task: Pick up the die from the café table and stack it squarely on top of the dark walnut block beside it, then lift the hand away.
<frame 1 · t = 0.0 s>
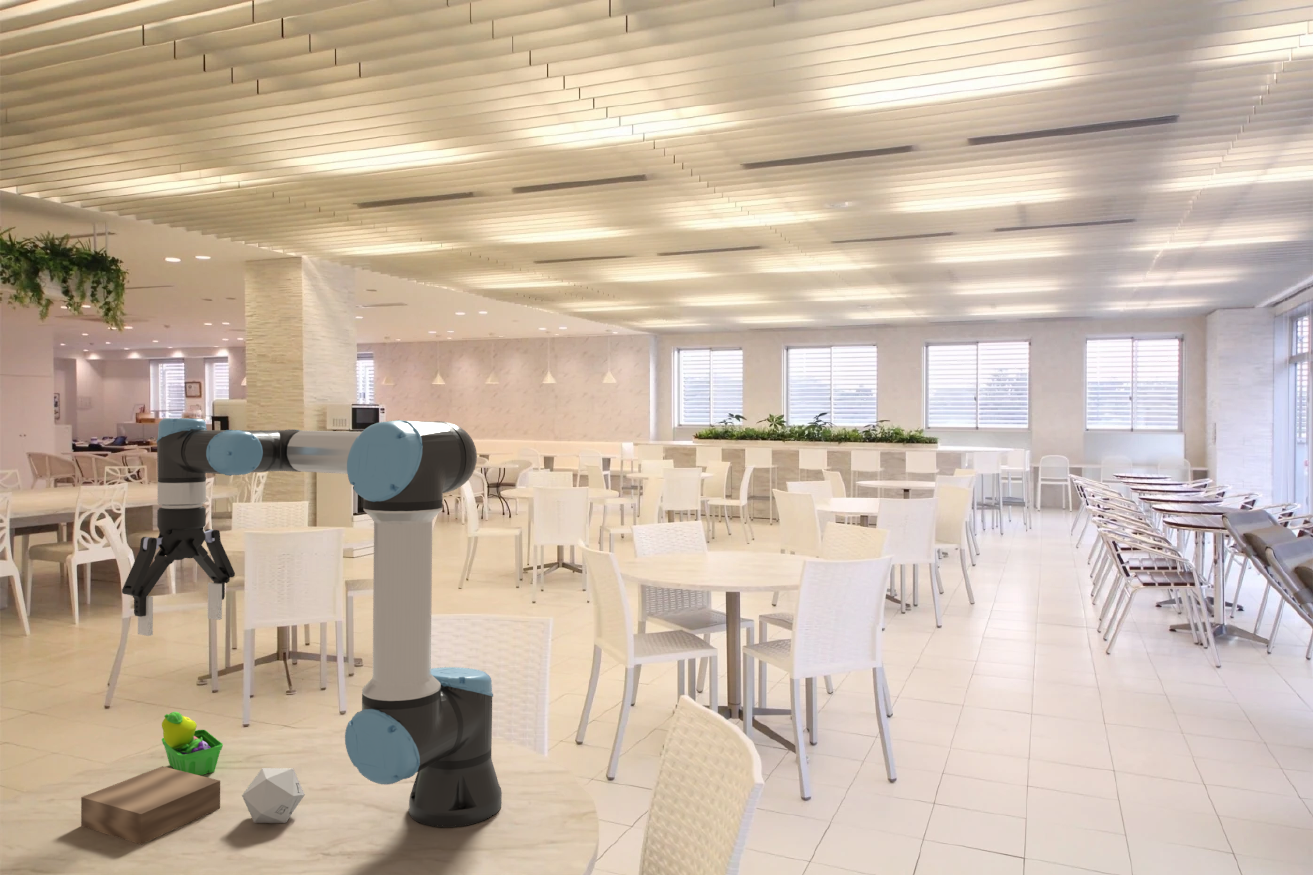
hand: (181, 626, 156), 28 cm above the table, tool pointing down, fingers open, 13 cm apart
walnut block: (152, 819, 143), on the table
fruit basket: (188, 770, 163), on the table
die: (273, 819, 143), on the table
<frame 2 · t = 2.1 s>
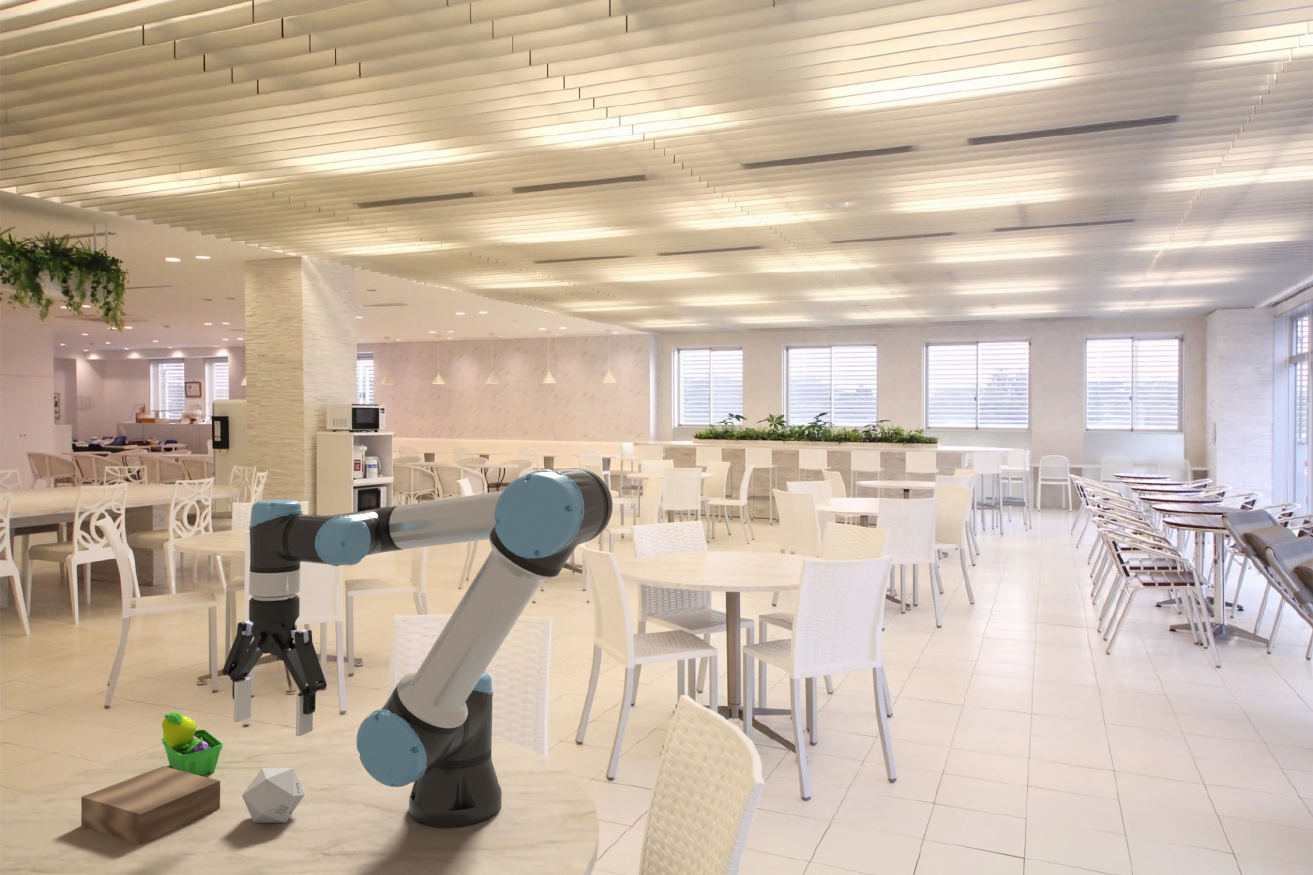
hand: (272, 726, 143), 15 cm above the table, tool pointing down, fingers open, 13 cm apart
nothing on the table moved.
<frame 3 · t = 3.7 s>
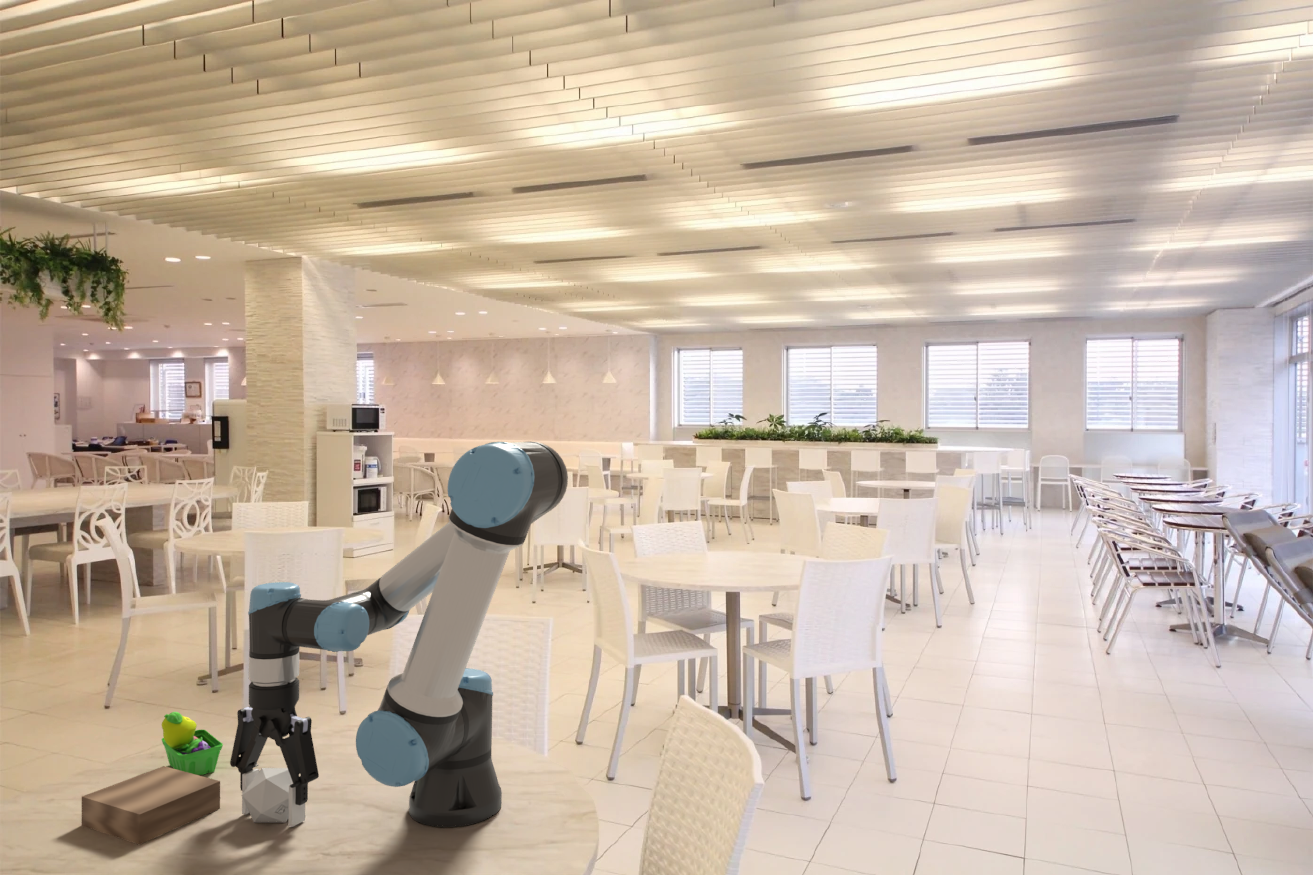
hand: (273, 816, 143), 0 cm above the table, tool pointing down, fingers closed on die, 9 cm apart
die: (273, 819, 143), on the table, touching gripper
everything else where it was.
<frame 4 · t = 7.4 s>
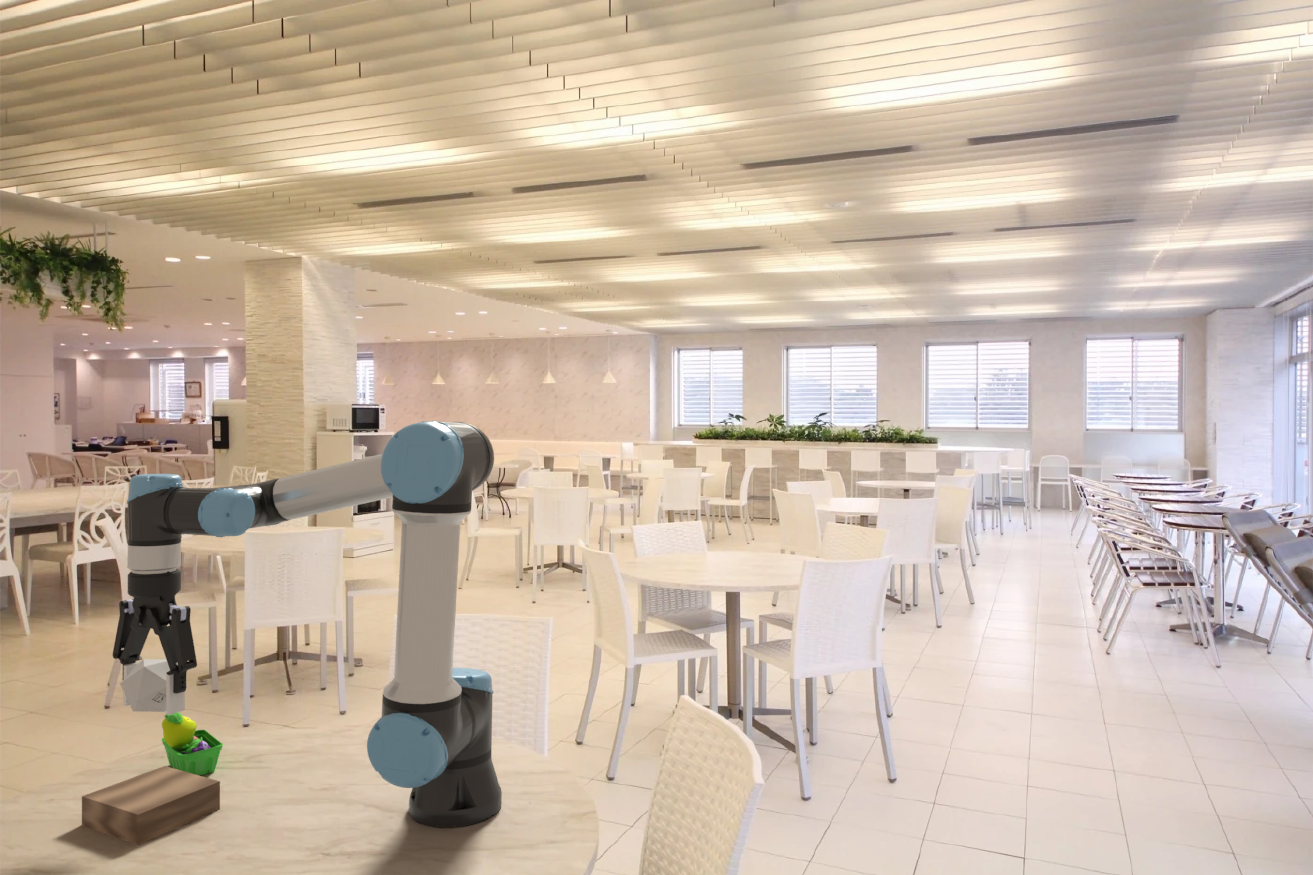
hand: (153, 707, 143), 18 cm above the table, tool pointing down, fingers closed on die, 9 cm apart
die: (153, 709, 143), point 17 cm above the table, touching gripper
everything else where it was.
when the fingers open (7 cm above the table, at t = 10.3 s): die drops 2 cm, point 4 cm above the table.
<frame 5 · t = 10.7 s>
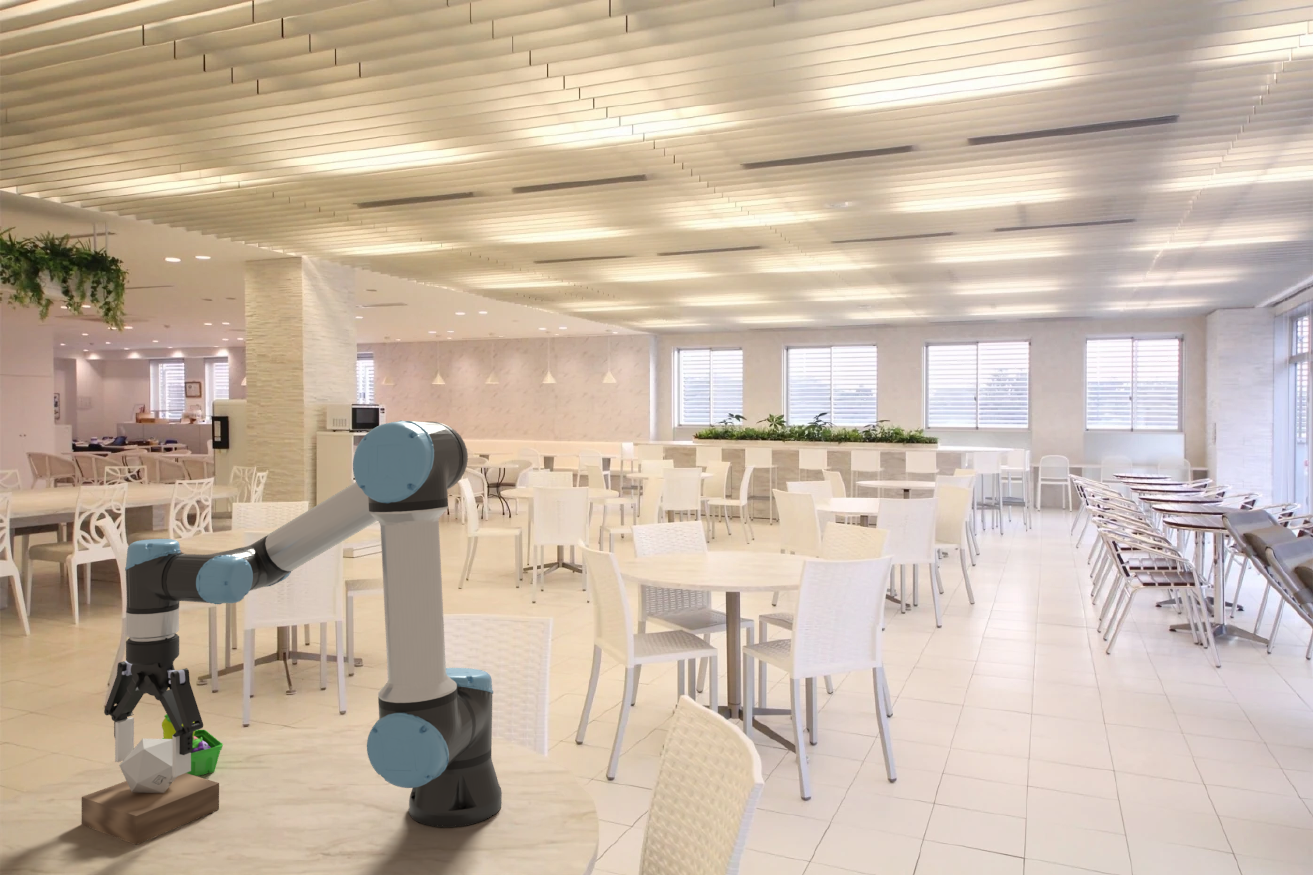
hand: (152, 766, 143), 8 cm above the table, tool pointing down, fingers open, 13 cm apart
die: (152, 790, 144), point 4 cm above the table
everything else where it was.
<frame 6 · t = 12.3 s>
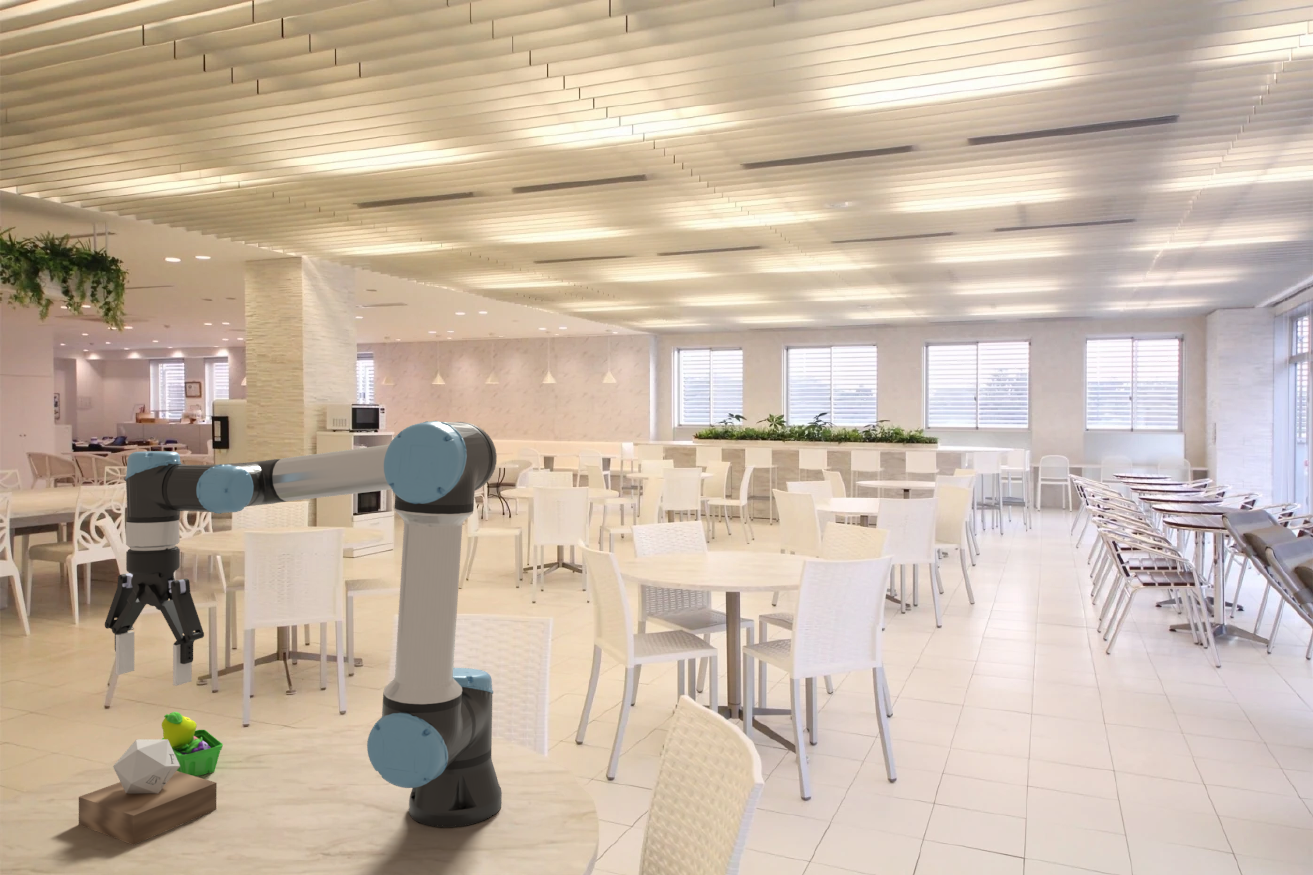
hand: (153, 678, 143), 23 cm above the table, tool pointing down, fingers open, 13 cm apart
walnut block: (149, 820, 143), on the table, touching die
die: (146, 790, 143), point 4 cm above the table, touching walnut block
everything else where it was.
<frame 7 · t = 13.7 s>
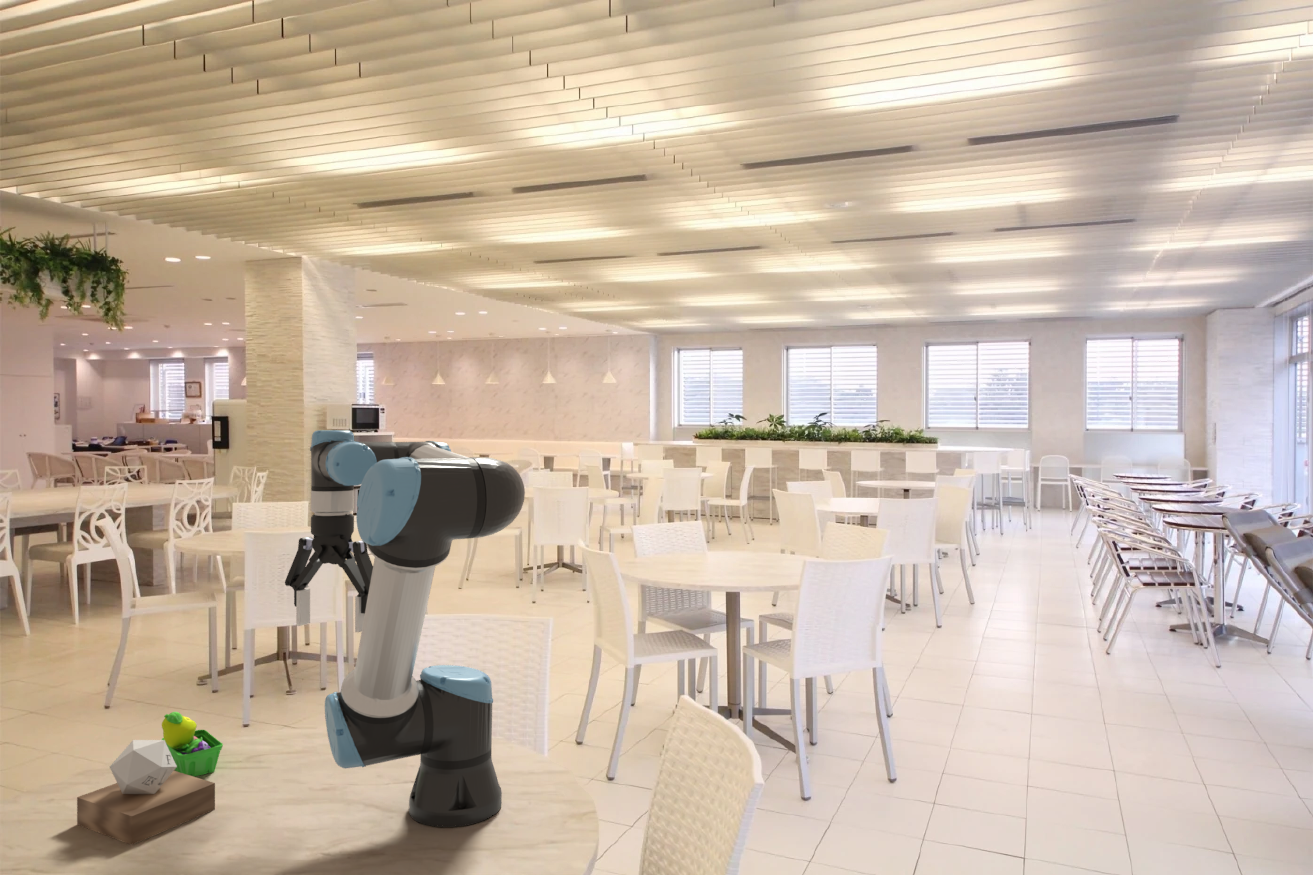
hand: (332, 627, 164), 26 cm above the table, tool pointing down, fingers open, 13 cm apart
nothing on the table moved.
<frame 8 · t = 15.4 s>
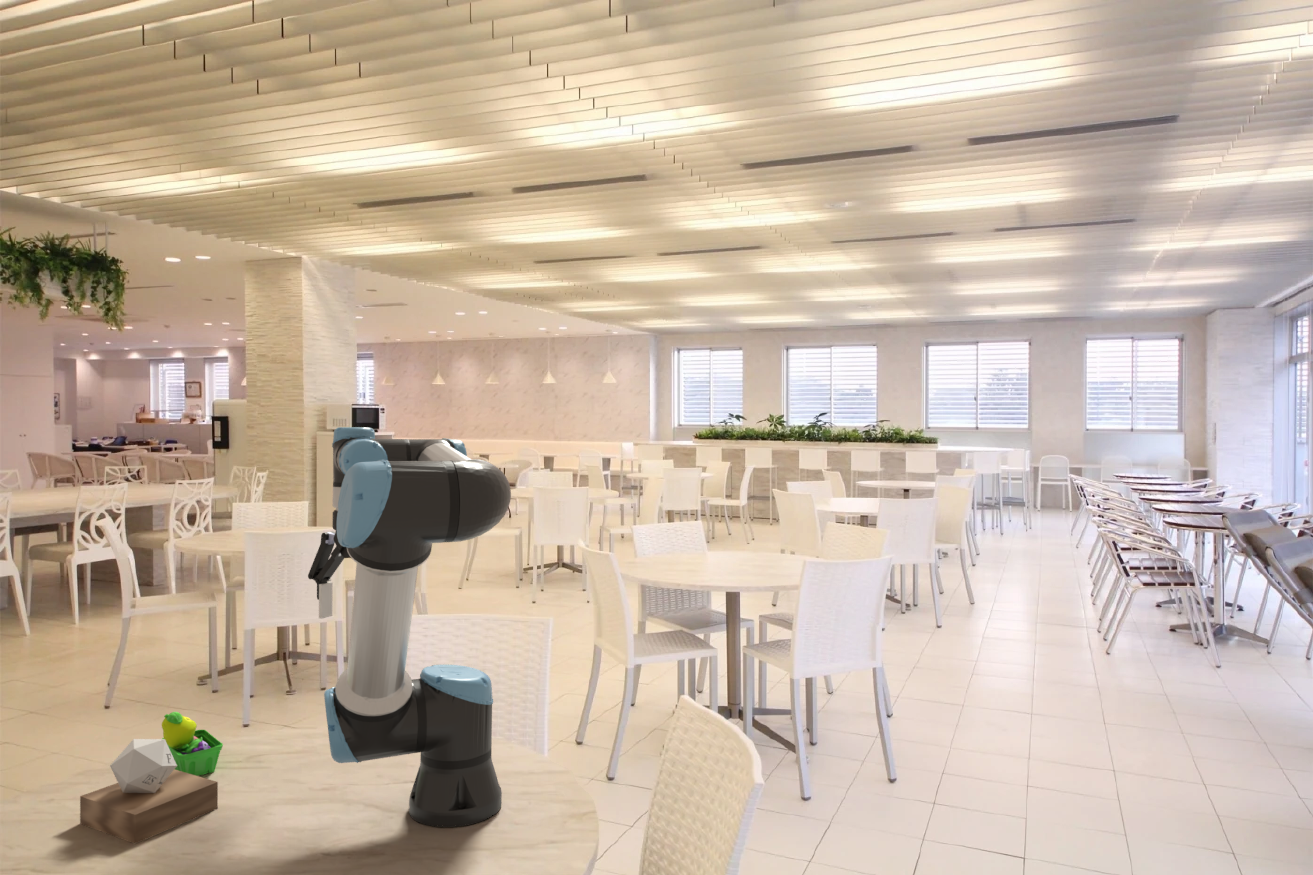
hand: (352, 620, 167), 27 cm above the table, tool pointing down, fingers open, 13 cm apart
nothing on the table moved.
at the end: die 0.9 cm off-centre on the walnut block, point 4.8 cm above the walnut block's base; die tilted 0°; the gripper is holding nothing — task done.
